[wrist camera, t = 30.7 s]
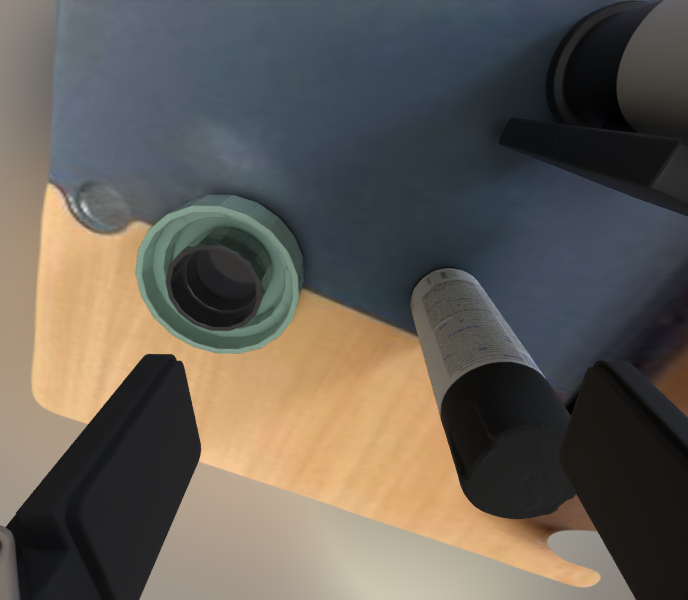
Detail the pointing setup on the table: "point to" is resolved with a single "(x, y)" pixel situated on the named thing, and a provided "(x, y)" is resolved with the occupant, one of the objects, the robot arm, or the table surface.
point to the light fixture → (619, 103)
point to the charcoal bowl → (219, 279)
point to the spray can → (490, 400)
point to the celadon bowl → (185, 228)
